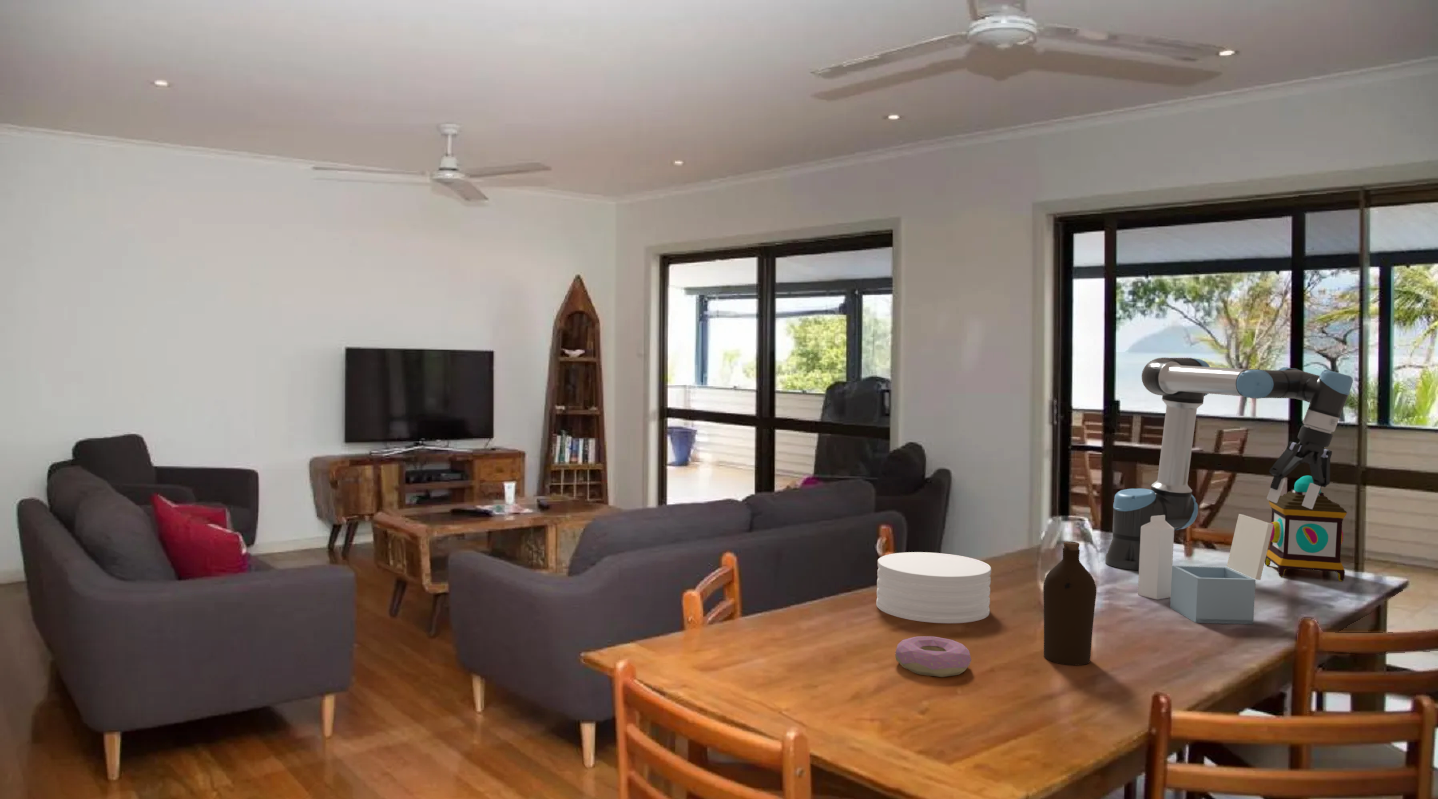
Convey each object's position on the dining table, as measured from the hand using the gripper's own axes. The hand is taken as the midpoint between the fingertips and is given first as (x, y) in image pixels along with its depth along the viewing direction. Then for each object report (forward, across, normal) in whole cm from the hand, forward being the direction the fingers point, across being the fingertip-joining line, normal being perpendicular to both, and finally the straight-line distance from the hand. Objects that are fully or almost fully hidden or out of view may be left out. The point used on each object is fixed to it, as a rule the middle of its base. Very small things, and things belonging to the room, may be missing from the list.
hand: (1289, 504), depth 263 cm
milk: (+33, -26, +8) cm, 43 cm away
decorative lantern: (+24, +41, +18) cm, 51 cm away
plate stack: (+46, -90, +14) cm, 102 cm away
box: (+29, -28, -11) cm, 42 cm away
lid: (+10, -23, -10) cm, 27 cm away
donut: (+42, -117, -26) cm, 127 cm away
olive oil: (+36, -86, -29) cm, 98 cm away
